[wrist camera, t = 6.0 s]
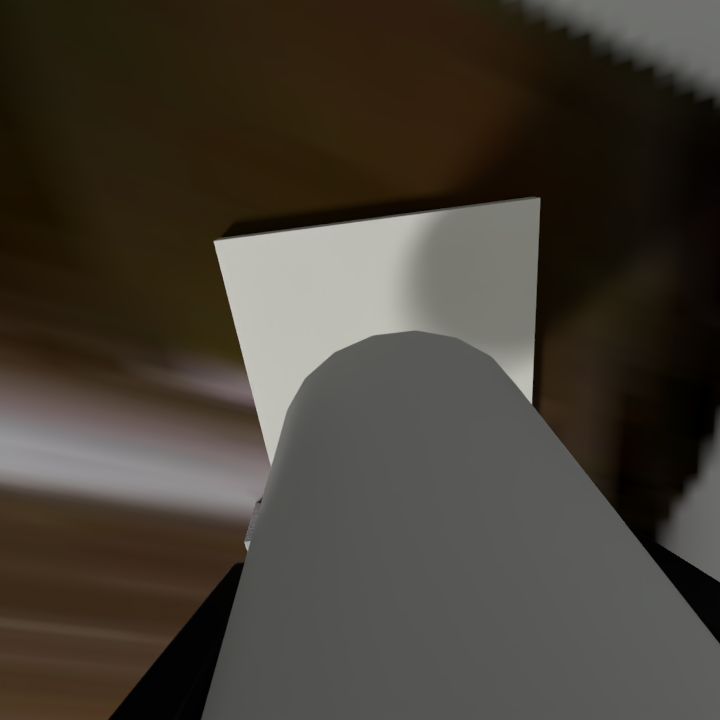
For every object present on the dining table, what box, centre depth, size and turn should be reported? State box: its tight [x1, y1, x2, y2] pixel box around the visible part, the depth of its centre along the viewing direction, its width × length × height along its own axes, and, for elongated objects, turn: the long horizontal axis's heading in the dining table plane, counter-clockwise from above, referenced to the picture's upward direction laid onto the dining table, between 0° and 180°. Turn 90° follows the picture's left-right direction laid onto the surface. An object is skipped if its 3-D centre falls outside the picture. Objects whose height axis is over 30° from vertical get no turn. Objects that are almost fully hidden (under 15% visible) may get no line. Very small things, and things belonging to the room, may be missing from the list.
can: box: [201, 330, 720, 720], centre depth 8 cm, size 8×8×12 cm
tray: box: [214, 197, 540, 466], centre depth 18 cm, size 12×12×1 cm
